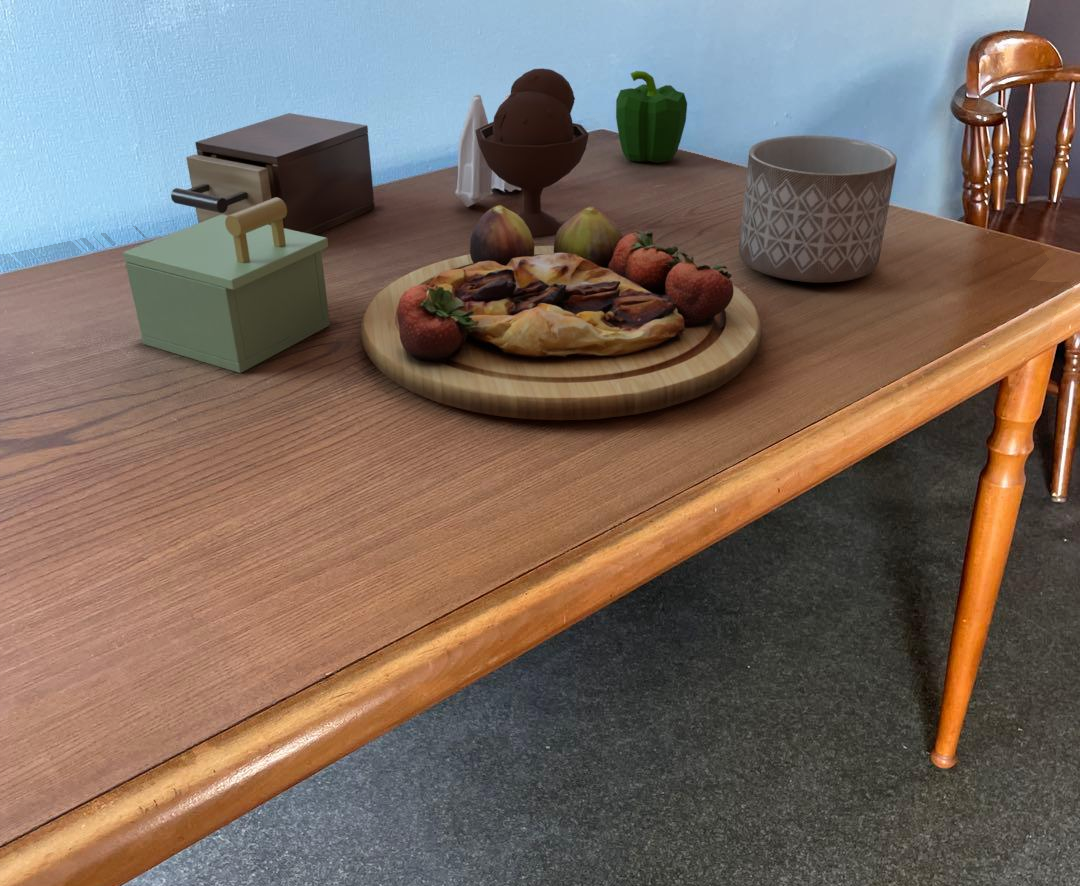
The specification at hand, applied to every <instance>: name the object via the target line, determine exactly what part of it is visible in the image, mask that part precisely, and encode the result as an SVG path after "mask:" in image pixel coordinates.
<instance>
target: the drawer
mask: <svg viewBox="0 0 1080 886" xmlns="http://www.w3.org/2000/svg"><path fill="white" fill-rule="evenodd" d="M185 159H186V164H187V170H188V176H189V180H190V186H191V188H188V189H184V188H178V187H176V188H174V189H172V190H171V192H170V198H171V199H170V200H171V201H172V202H173V203H174V204H178V205H182V206H186V207H187V206H188V207H191V208H195V214H196V218H197V224H198V223H201V222H203V221H206V220H208V219H211V218H214V217H216V216H219V215H227V216H228V215H231V214H233V213H236V212H239V211H241V210H244V209H246V208H249V207H252V206H254V205H257V204H259V203H262V202H265V201H267V200H270V199H272V198H275V197H277V196H276V189H275V182H274V174H273V167H272V165H273V164H268V163H263V162H258V161H252V160H247V159H242V158H236V157H231V156H226V155H220V154H215V153H213V154H211V157H206V156H201V155H197V153H196V154H192V155H188V156H186V158H185ZM268 225H271V223H270V224H268Z"/></svg>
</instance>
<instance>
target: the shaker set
mask: <svg viewBox="0 0 1080 886" xmlns="http://www.w3.org/2000/svg"><path fill="white" fill-rule="evenodd" d="M510 94H511V93H510ZM510 94H506V95H505V96H504V98H503V101H502V103H503V102H504V101H505V100H506V99H507V98H508V97H509V96H510ZM486 113H487V112H486V110H485V106H484V104H483V99H482V96H481V94H477V93H476V94H474V95H473V96H472V98H471V100H470V103H469V106H468V109H467V113H466V115H465V118H464V122H463V125H462V128H461V131H460V134H459V137H458V138H459V139H458V158H457V160H458V161H457V181H456V190H454V193H455V195H456V197H457V198H458V199H459V201H461V203H462V204H463V205H464V206H465V207H466V208H469V207H471V206H473V205H474V204H476V203H478V202H480V201H482V200H484V199H486V198H488V197H490V196H492V195H493V194H494V192H493V190H494V189H496V190H497V189H498V190H500V191H502V193H506V191H507V192H509V193H510V192H513V191H515V190H517V191H522V190H521V188H519V187H516V186H513V185H510V184H508V183H507V182H505V181H504V180H502V179H501V178H499V177H498V176H497V175H496V174H495V173H494V172H493V171H492V170H491V169H490V168H489V167H488V165H487V163H486V160H485V158H484V156H483V154H482V152H481V150H480V148H479V145H478V141H477V136H476V131H475V130H477V129H479V128H481V127H483V126H485V125H487V124H489V120H488V116H487V114H486ZM505 190H506V191H505Z"/></svg>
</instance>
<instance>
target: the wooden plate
mask: <svg viewBox="0 0 1080 886" xmlns="http://www.w3.org/2000/svg"><path fill="white" fill-rule="evenodd" d="M634 231H635V232H633V233H628V234H627V235H625V236H624V235H623V233H622V230H621V228H620V226H619V225H618V224H617V223H616V221H614V219H612V218H611V217H610V216H609V215H607V214H606V213H604V212H602V211H599V210H598V209H596V207H595V206H588V207H584V208H583V209H582V210H580V211H579V212H578V213H575V214H574V215H573V216H571V217H570V218H568V219H567V220H566V221H564V223H563V224H562V225H560V226H559V230H557V231H556V234H555V237H554V243H553V245H535V242H534V238H533V237H532V235H531V232H530V230H529V228H528V227H527V225H526V224H525V222H524V220H523V219H522V218H520V217H519V216H518V213H516V212H514V211H512V210H510V209H508V208H506V207H505V206H503V205H501V204H498V205H495V206H493V207H491V208H490V209H488V210H487V211H486V212H485V213H483V214H482V216H481V217H480V218H479V219H478V221H477V222H476V224H475V226H474V228H473V230H472V234H471V237H470V242H469V243H470V244H469V253H468V254H465V255H460V256H456V257H451V258H448V259H444V260H440V261H436V262H434V263H431V264H428V265H425V266H423V267H420V268H417V269H415V270H413V271H411V272H409V273H407V274H405V275H403V276H401V277H400V278H397V279H396V280H394V281H393V282H391V283H390V284H389V285H387V286H385V287H384V288H383V289H382V290H380V291H379V292H378V293H377V294H376V295H375V296H374V297H373V298H372V300H371V301H370V302H369V304H368V305H367V307H366V308H365V310H364V313H363V315H362V319H361V323H360V340H361V343H362V346H363V348H364V351H365V353H366V355H367V356H368V358H369V360H370V361H371V362H372V363H373V364H374V365H375V367H376V368H377V369H378V370H379V371H380V372H381V373H382V374H383V375H385V376H386V377H387V378H388V379H390V380H391V381H392V382H394V383H395V384H397V385H398V386H400V387H402V388H404V389H406V390H408V391H410V392H411V393H414V394H416V395H418V396H421V397H423V398H425V399H428V400H431V401H433V402H436V403H439V404H442V405H445V406H449V407H452V408H455V409H460V410H463V411H469V412H474V413H478V414H483V415H484V414H485V415H490V416H497V417H502V418H511V419H512V418H513V419H521V420H538V421H539V420H540V421H541V420H543V421H583V420H599V419H610V418H617V417H626V416H633V415H639V414H644V413H648V412H655V411H658V410H662V409H666V408H669V407H673V406H675V405H676V406H677V405H679V404H682V403H686V402H689V401H691V400H694V399H697V398H699V397H702V396H705V395H706V394H708V393H710V392H712V391H715V390H717V389H719V388H720V387H722V386H723V385H725V384H727V383H729V382H730V381H731V380H733V379H734V378H735V377H736V376H737V375H739V374H740V373H741V372H742V371H743V370H744V369H745V368H746V367H747V365H749V363H750V362H751V361H752V360H753V358H754V356H755V355H756V353H757V352H758V350H759V347H760V343H761V339H762V326H761V319H760V316H759V313H758V310H757V308H756V306H755V305H754V303H753V302H752V301H751V299H750V298H749V297H748V296H747V295H746V293H744V292H743V291H742V290H741V289H739V288H738V287H737V286H736V285H734V284H733V281H732V279H731V278H732V276H733V274H731V273H729V271H728V270H727V271H724V270H723V269H728V267H727V266H726V265H723V264H722V265H721V264H720V265H715V266H713V267H711V266H709V265H707V264H704V265H697V264H695V259H694V256H693V255H692V256H691V257H690V258H689V255H688V254H687V253H685V252H684V251H679V248H678V246H672V247H671V246H669V247H666V248H664V247H662V246H658V245H654V237H653V235H654V233H653V232H652V231H649V230H646V231H645V232H643V231H642V230H639V229H634ZM675 254H676V255H675ZM679 254H680V255H682V256H683V258H684V261H683V260H681V259H680V258H679V257H680V256H679Z"/></svg>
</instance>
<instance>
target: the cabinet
mask: <svg viewBox="0 0 1080 886" xmlns="http://www.w3.org/2000/svg"><path fill="white" fill-rule="evenodd" d="M194 143H195V148H196V149H195V150H196V155H201V156H206V157H211V154H213V153H215V154H220V155H226V156H231V157H236V158H242V159H247V160H252V161H258V162H263V163H268V164H273V165H272V167H273V174H274V182H275V189H276V196H277V198H280V199H282V200H283V201H284V203H285V205H286V207H287V215H286V216H285V217H284V218H282V219H283V227H284V228H285V229H290V230H294V231H298V232H303V233H307V234H312V235H316V236H317V235H318V234H321V233H323V232H325V231H327V230H329V229H330V230H331V229H333V228H334V227H336V226H339V225H341V224H343V223H345V222H348V221H350V220H352V219H354V218H355V219H356V218H357V217H360V216H361V215H364V214H366V213H368V212H371V211H374V210H375V209H376V207H375V196H374V195H375V194H374V186H373V185H374V184H373V175H372V173H373V172H372V165H371V164H372V163H371V152H370V150H371V149H370V139H369V128H368V125H366V124H361V123H354V122H348V121H343V120H336V119H329V118H322V117H316V116H309V115H305V114H304V115H303V114H297V113H292V112H288V113H285V114H282V115H278V116H275V117H272V118H268V119H265V120H262V121H260V122H256V123H253V124H249V125H245V126H243V127H239V128H236V129H233V130H229V131H227V132H223V133H220V134H217V135H213V136H211V137H207V138H204V139H200V140H198V141H195V142H194Z"/></svg>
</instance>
